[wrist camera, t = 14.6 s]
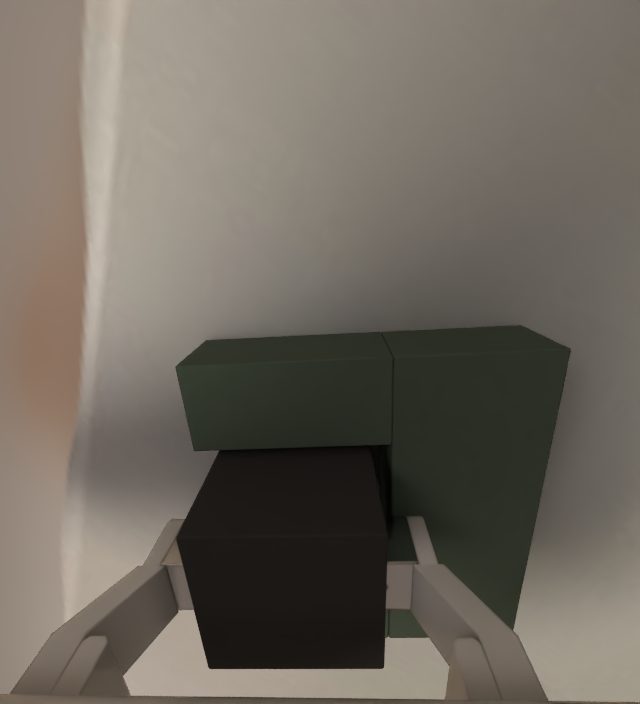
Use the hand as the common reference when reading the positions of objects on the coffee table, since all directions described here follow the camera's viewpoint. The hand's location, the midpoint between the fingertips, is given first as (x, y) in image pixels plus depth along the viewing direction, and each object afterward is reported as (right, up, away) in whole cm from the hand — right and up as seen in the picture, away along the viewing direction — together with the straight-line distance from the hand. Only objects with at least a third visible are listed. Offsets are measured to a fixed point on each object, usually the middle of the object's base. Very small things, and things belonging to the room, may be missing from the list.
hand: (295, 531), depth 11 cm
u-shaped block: (+3, +1, +3) cm, 4 cm away
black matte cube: (0, 0, +2) cm, 2 cm away
